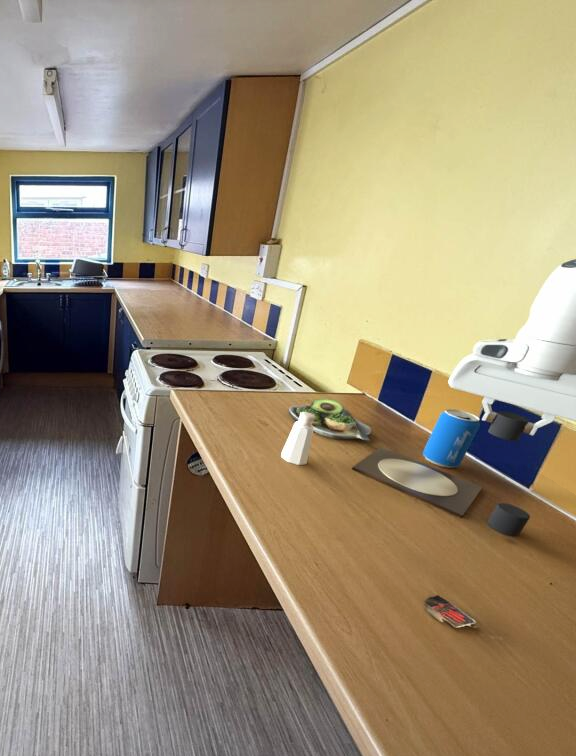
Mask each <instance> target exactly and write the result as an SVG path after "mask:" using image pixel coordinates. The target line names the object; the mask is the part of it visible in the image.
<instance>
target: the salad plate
mask: <svg viewBox="0 0 576 756" xmlns="http://www.w3.org/2000/svg"><path fill="white" fill-rule="evenodd" d="M301 412H308V413H311V414H313V415H314V416H315V419H314V421H313V423H312V425H313V433H316V434H318V435H320V436H323V437H327V438H330V439H333V440H341V441H342V440H343V441H345V440H357V439H359V440H363V441H367V442H369V441H370V437H369V435H371V433H372V430H371V427H370V426H369V425H367V424H365V423H363V422H361V421H359V420H358V419H356V418H355V417H353V415H352V413H350V411H349V410H347V409H345V408H344V406H343V405H342V403H340V402H339V401H337V400H334V399H330V398H319V399H315V400H313V401H312V402H311V404H310V405H291V406H290V407H289V408H288V414H289V415H290V417H291V418H292V419H293V420H294V421H295V422H297V421H299V417H300V413H301Z"/></svg>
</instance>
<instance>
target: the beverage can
mask: <svg viewBox="0 0 576 756" xmlns="http://www.w3.org/2000/svg"><path fill="white" fill-rule="evenodd" d="M480 427H481V424H480V417H479V416H477V415H475V414H473V413H471V412H467V411H464V410H459V409H455V408H446V409H445V410H444V411H443V412H441V413H440V414H439V417H438V419H437V421H436V423H435V425H434V427H433V429H432V432H431V433H430V436H429V438H428V440H427V442H426V445H425V447H424V449H423V451H422V455H423V457H424V458H425V460H427V461H428V462H429V463H431V464H434V465H435V466H439V467H443V468H447V469H452V468H458V467H460V466H461V464H462V462H463V460H464V458H465V456H466V454H467V452H468V450H469V448H470V446H471V444H472V443H473V440H474V438H475V436H476V434H477V432H478V430H479V428H480Z"/></svg>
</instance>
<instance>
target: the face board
mask: <svg viewBox="0 0 576 756" xmlns="http://www.w3.org/2000/svg"><path fill="white" fill-rule="evenodd" d="M351 470H353V471H354V472H357V473H359V474H361V475H364V476H366V477H368V478H370V479H373V480H375V481H377V482H379V483H382V484H384V485H386V486H389V487H391V488H393V489H395V490H397V491H400V492H402V493H404V494H407V495H409V496H411V497H413V498H415V499H418V500H419V501H420V500H421V501H422V502H425V503H426V504H429V505H432V506H433V507H436V508H438V509H441V510H443V511H445V512H447V513H450V514H452V515H453V516H456V517H458V518H463V517H464V515H465V514H466V512H467V511H468V510H469V508H470V507H471V505H472V504H473V502H474V501H475V499H476V498H477V496H478V495H479V494H480V492H481V491H482V490H483V486H481V485H479V484H476V483H474V482H470V481H468V480H465V479H463V478H460V477H457V476H455V475H452V474H450V473H448V472H446V471H442V470H440V469H437V468H434V467H432V466H430V465H427V464H425V463H421V462H420V461H416V460H415V459H412V458H409V457H406V456H404V455H402V454H398V453H396V452H395V451H394V452H393V451H391V450H389V449H386V448H383V447H378V448H377V449H375V450H373V452H371V453H370V454H368V455H367V456H366V457H364V458H362V460H360V461H359V462H358V463H356V464H355V465H353V466H352V467H351Z"/></svg>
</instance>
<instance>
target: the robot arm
mask: <svg viewBox="0 0 576 756" xmlns="http://www.w3.org/2000/svg"><path fill="white" fill-rule="evenodd" d="M447 383H448V385H449V387H450V388H451V389H455V390H459V391H461V392H466V393H470V394H472V395H476V396H477V395H478V396H480V397H483V399H482V400H481V405H482V407H483V408H482V409H483V411H484V414H483V416H482V418H481V421H483V422H487V423H490V424H492V423H493V421H494V419H495V417H496V415H497V413H498V412H496V411H493V410H492V405H493V404H494V403H495V402H496V401H499V402H503V403H506V404H510V405H514V406H516V407H520V408H524V409H527V410H528V409H529V410H532V411H536V412H539V413H543V414H542V416H541V417H540V418H541V420H538V421H537V422H534V423H533V422H530V421H529V422H528V423H527V424H526V426H525V429H523V431H522V434H526V435H530V436H534V435H535V434H536V432H537V431H538V429H539V428H542V427H544V426H546V425H548V424H551V423H553V422H554V420H555V419H556V417H558V418H561V419H565V420H569V421H573V422H576V258H574V259H570V260H568V261H566V262H563V263H561V264H560V265H558V266H557V267H556V268H555V269H554V270H553V272H552V273H551V274H550V275H549V276H548V278H547V279H546V280H545V282H544V283H543V285H542V286H541V288H540V290H539V292H538V294H537V295H536V296H535V299H534V301H533V303H532V305H531V307H530V310H529V317H528V319H527V321H526V323H525V324H524V325H523V326H522V327H521V328H520V329H519V331H518V332H517V334H516V336H515V337H514V338H499V339H498V338H497V339H494V338H493V339H492V338H491V339H481V340H480V341H478V342H476V343H475V344H474V345H473V349H472V353H470V354H467V356H465V357H463V358H462V359H461V360H460V361H459V363H457V365H456V366H455V367H454V370H453V371H452V373H451V374H450V376H449V378H448V380H447Z"/></svg>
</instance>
